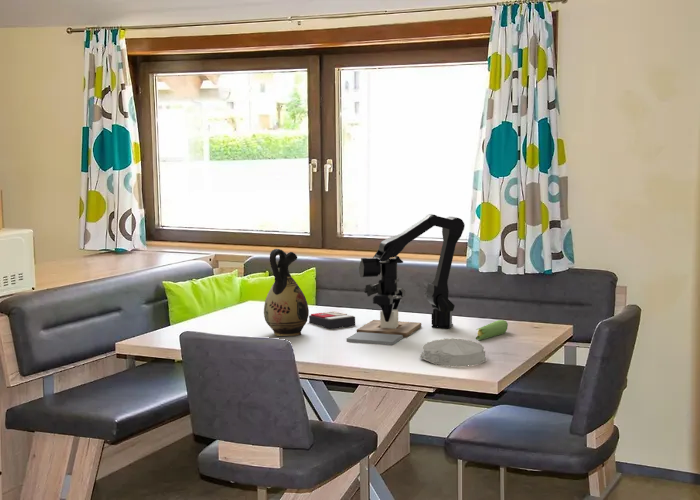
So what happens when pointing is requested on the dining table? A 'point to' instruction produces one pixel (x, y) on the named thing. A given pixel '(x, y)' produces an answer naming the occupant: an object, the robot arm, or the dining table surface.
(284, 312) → the ceramic jug
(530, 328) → the dining table surface
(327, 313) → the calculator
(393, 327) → the white block
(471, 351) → the grey stone disc
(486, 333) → the edible corn
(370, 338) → the grey mat
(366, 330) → the pocket plate
